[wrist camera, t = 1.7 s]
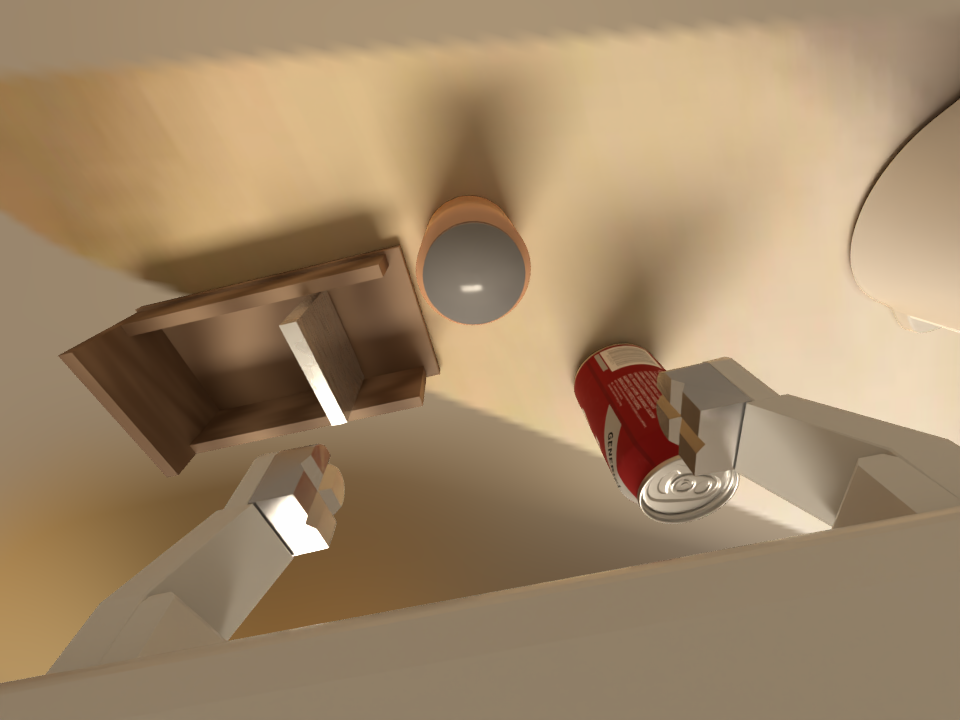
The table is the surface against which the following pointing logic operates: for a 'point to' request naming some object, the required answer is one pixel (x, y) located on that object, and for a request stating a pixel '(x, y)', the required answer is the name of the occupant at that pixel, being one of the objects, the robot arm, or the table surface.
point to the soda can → (643, 438)
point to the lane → (254, 358)
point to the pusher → (324, 355)
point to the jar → (472, 262)
